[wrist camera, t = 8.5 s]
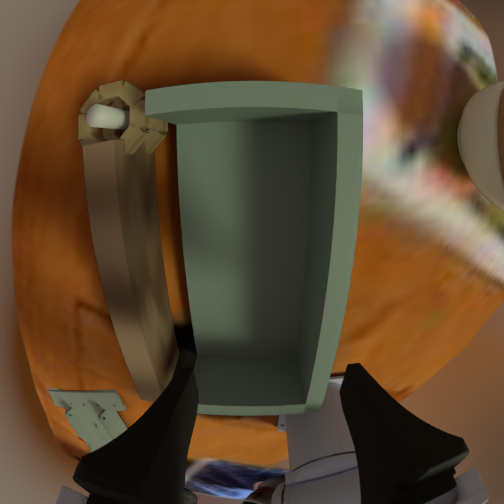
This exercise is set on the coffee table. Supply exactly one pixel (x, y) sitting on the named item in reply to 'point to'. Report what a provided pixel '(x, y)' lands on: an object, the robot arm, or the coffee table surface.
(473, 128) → the lidded jar
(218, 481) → the coffee table surface
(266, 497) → the lucky cat figurine
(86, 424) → the metal bracket
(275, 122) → the sage green open box
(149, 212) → the brown gear-headed lever
